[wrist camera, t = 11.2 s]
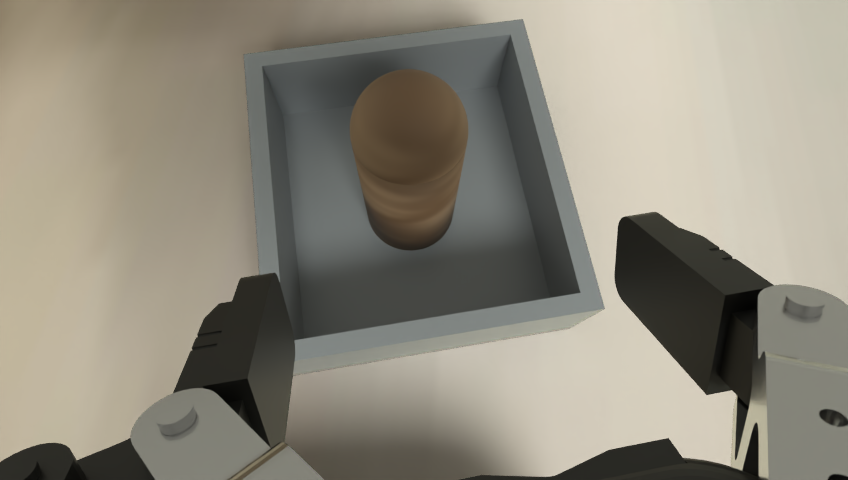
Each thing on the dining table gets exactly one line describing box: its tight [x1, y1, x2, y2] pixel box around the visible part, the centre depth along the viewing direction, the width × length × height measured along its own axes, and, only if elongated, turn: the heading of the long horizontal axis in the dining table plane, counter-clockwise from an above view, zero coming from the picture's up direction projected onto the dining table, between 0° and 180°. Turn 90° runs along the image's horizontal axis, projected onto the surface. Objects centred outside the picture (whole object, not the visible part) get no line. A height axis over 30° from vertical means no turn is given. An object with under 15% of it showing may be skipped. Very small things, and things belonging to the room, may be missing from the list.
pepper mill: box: [350, 69, 468, 251], centre depth 22 cm, size 4×4×10 cm
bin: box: [244, 19, 605, 375], centre depth 25 cm, size 14×15×5 cm
